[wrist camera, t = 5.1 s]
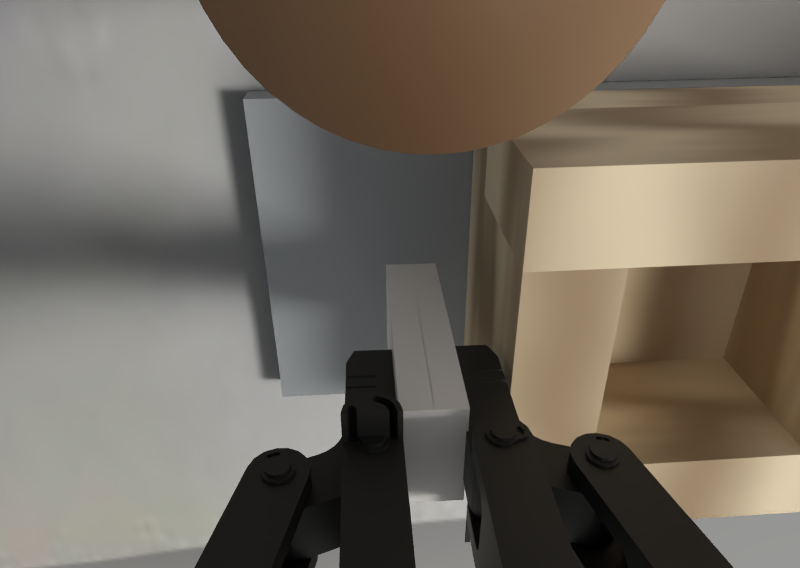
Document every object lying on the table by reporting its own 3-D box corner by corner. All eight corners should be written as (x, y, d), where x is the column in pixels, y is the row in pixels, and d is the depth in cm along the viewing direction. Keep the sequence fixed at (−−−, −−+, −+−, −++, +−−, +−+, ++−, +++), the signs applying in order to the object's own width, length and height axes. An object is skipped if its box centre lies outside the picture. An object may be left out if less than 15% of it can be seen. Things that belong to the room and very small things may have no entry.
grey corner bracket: (285, 379, 24) (242, 673, 15) (247, 91, 19) (141, 261, 9) (988, 343, 26) (1362, 587, 16) (1144, 68, 20) (1847, 192, 11)
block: (461, 387, 24) (496, 532, 18) (476, 93, 18) (533, 168, 13) (740, 373, 24) (858, 507, 19) (837, 83, 19) (1045, 151, 13)
